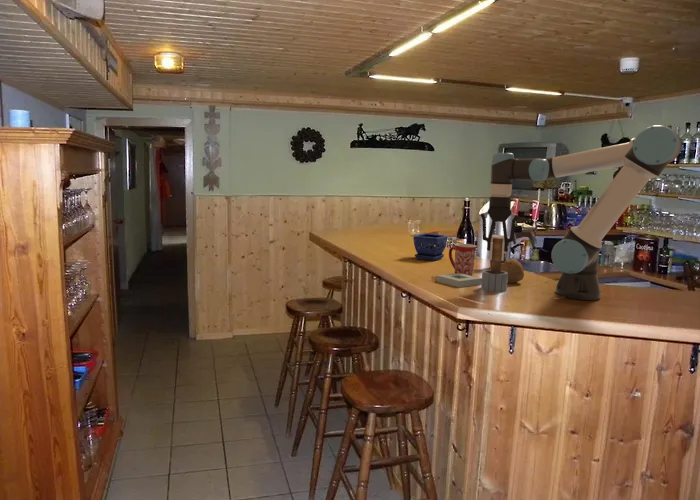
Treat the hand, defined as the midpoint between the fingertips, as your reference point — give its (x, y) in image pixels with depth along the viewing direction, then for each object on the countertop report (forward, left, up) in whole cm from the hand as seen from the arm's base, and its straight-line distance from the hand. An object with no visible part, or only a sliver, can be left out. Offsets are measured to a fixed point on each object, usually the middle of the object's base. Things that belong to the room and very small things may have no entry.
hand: (496, 259), depth 200 cm
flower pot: (+66, -28, -12) cm, 73 cm away
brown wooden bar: (0, 0, -8) cm, 8 cm away
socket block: (+14, +4, -12) cm, 19 cm away
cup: (0, 0, -12) cm, 12 cm away
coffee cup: (+32, -39, -12) cm, 52 cm away
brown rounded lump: (+6, -17, -12) cm, 22 cm away
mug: (+26, -9, -12) cm, 30 cm away
